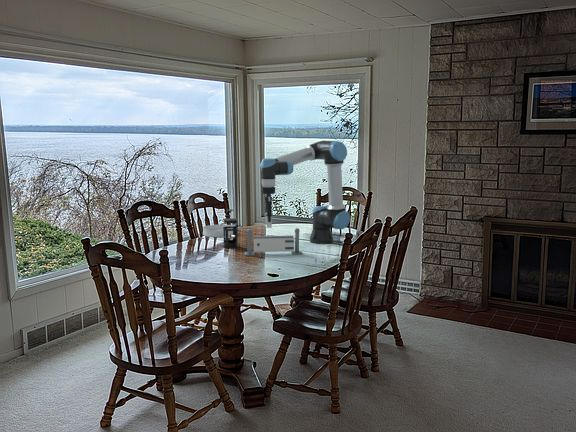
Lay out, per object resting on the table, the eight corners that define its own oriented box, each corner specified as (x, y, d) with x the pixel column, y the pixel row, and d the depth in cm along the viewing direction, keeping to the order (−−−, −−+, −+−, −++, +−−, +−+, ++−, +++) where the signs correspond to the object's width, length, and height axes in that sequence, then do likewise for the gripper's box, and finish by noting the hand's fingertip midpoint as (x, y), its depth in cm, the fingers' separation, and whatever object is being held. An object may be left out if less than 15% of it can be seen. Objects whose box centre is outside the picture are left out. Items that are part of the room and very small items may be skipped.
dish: (241, 233, 371) (241, 226, 370) (222, 239, 352) (222, 231, 351) (216, 230, 382) (216, 223, 381) (196, 235, 363) (195, 228, 362)
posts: (301, 252, 314) (301, 227, 312) (302, 254, 308) (302, 229, 306) (244, 253, 311) (244, 227, 308) (244, 255, 305) (244, 229, 302)
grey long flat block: (293, 250, 312) (293, 235, 310) (294, 251, 309) (294, 236, 307) (253, 251, 309) (253, 236, 308) (254, 252, 306) (254, 237, 305)
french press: (233, 249, 321) (232, 211, 318) (219, 247, 325) (218, 210, 321) (242, 245, 332) (242, 208, 328) (229, 243, 336) (228, 207, 332)
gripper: (260, 184, 307) (260, 222, 310) (263, 188, 284) (263, 229, 288) (273, 184, 308) (273, 222, 311) (277, 188, 285) (276, 229, 289)
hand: (268, 225), depth 299 cm, fingers open, 10 cm apart
